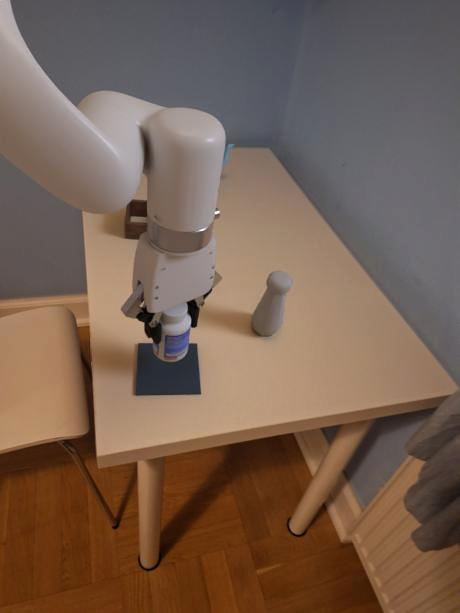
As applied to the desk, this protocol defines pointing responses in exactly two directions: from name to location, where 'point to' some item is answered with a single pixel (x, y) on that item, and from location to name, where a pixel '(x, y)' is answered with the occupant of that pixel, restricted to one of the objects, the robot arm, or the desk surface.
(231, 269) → the desk surface
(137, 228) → the caddy
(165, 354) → the pill bottle
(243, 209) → the desk surface
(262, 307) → the salt shaker
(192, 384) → the mat
